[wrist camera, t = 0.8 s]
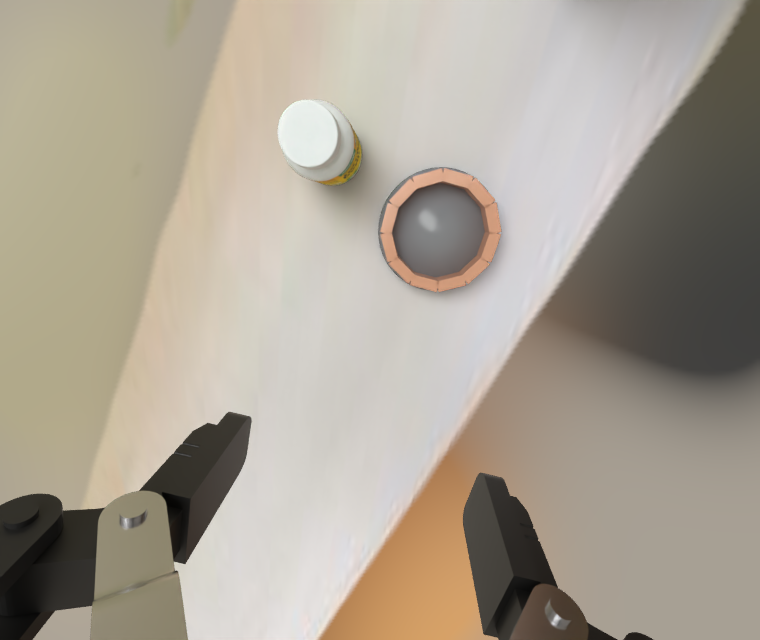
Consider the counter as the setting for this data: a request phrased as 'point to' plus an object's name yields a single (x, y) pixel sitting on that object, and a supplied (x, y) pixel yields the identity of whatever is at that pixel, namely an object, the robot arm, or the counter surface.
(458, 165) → the counter surface
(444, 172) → the ring tray
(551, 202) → the counter surface
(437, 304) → the counter surface
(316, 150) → the supplement bottle
